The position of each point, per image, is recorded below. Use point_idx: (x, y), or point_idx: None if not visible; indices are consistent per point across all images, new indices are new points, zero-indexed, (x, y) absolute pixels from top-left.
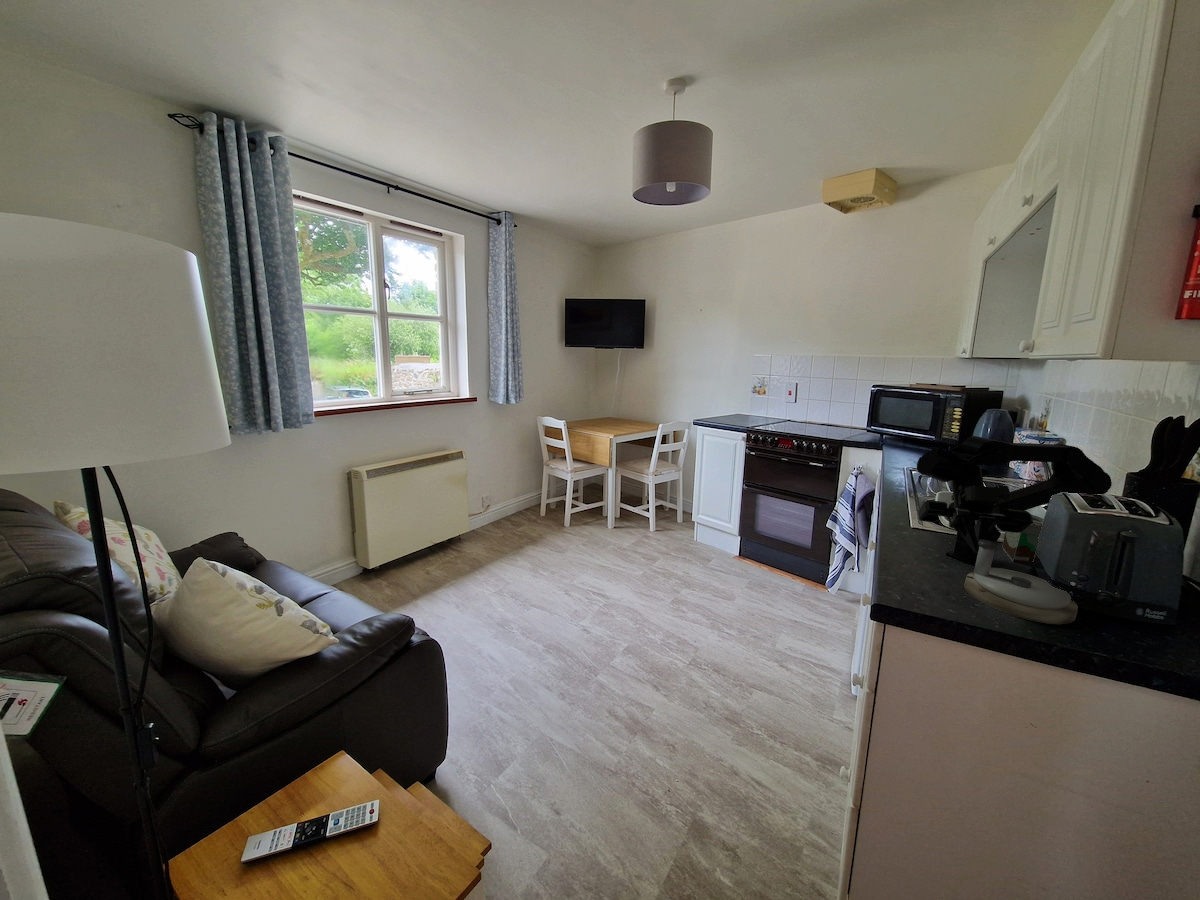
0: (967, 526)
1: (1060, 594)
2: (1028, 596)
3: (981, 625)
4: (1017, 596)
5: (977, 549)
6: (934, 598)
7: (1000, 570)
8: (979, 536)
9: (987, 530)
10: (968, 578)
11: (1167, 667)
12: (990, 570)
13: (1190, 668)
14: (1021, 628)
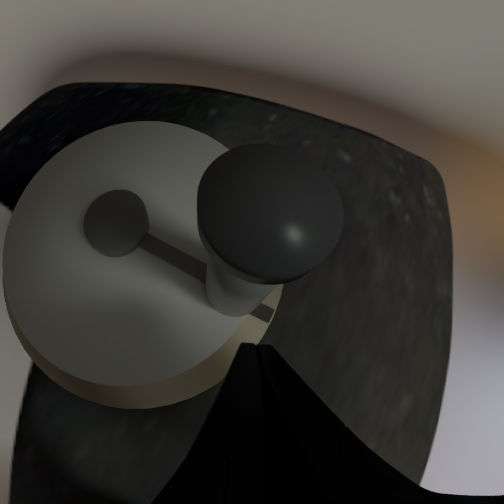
0: (402, 486)
1: (44, 186)
2: (163, 139)
3: (301, 117)
4: (199, 133)
5: (263, 348)
6: (370, 202)
7: (119, 357)
8: (259, 428)
9: (165, 495)
10: (272, 298)
11: (62, 90)
12: (169, 343)
13: (34, 100)
14: (223, 117)
